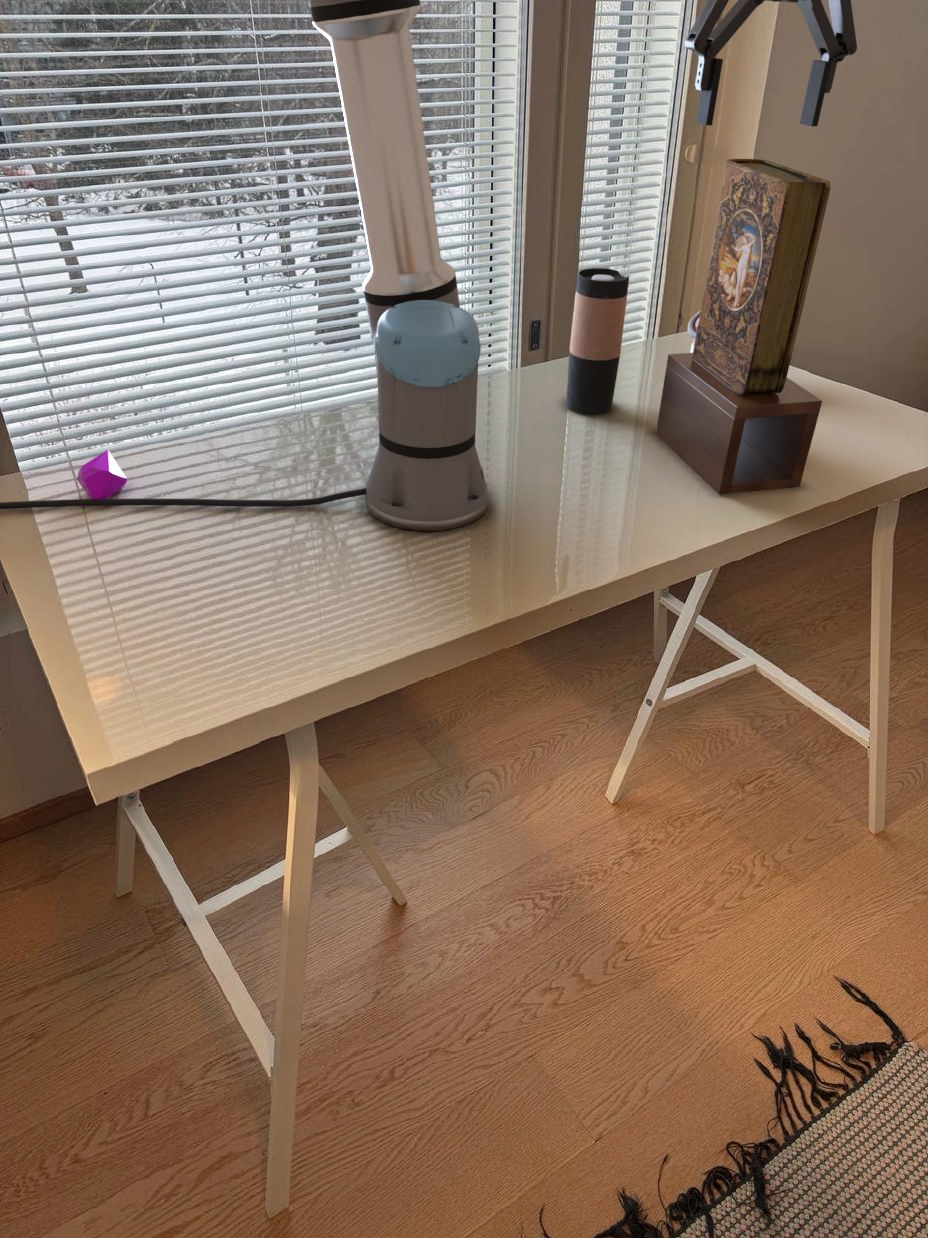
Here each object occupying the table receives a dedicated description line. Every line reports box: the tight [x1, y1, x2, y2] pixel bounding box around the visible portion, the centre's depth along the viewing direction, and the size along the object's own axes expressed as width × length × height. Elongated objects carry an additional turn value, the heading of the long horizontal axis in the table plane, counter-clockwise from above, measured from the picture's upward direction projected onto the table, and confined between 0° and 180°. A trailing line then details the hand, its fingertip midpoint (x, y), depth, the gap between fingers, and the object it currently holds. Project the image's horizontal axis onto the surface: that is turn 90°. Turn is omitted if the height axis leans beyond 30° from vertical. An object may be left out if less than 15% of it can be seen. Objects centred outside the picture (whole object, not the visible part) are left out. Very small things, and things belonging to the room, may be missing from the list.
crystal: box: [76, 449, 128, 507], centre depth 114 cm, size 5×5×5 cm
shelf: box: [655, 352, 823, 495], centre depth 126 cm, size 12×20×12 cm, turn 14°
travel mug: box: [565, 267, 630, 416], centre depth 139 cm, size 8×8×20 cm
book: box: [692, 158, 832, 395], centre depth 116 cm, size 16×6×25 cm, turn 13°
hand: (756, 124), depth 108 cm, fingers open, 13 cm apart
